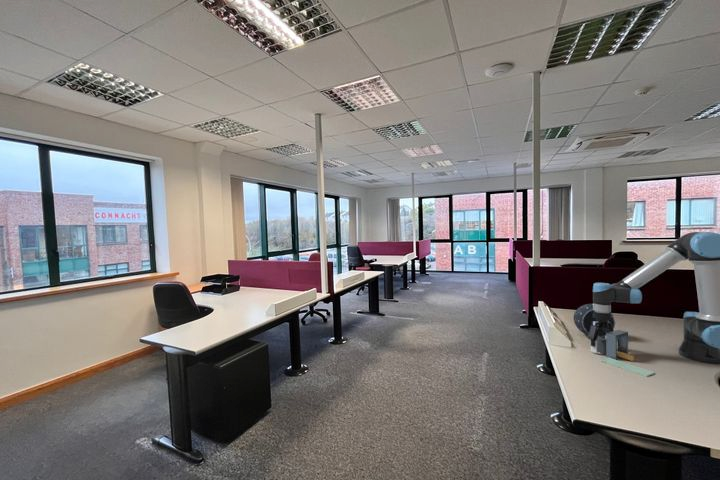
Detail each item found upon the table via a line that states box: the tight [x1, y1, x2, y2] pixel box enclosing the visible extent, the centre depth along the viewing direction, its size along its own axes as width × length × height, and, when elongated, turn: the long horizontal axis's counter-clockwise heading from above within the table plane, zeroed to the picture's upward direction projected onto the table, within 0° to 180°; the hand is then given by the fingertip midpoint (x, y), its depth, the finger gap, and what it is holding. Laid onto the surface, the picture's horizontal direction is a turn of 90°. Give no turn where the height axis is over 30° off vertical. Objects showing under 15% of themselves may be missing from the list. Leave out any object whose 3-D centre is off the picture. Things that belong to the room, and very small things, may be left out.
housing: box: [605, 329, 629, 360], centre depth 152 cm, size 12×4×13 cm, turn 113°
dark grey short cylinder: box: [573, 303, 616, 338], centre depth 181 cm, size 11×20×20 cm, turn 78°
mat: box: [599, 357, 656, 378], centre depth 140 cm, size 7×18×1 cm, turn 23°
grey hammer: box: [596, 337, 635, 362], centre depth 153 cm, size 5×16×7 cm, turn 24°
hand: (601, 350), depth 158 cm, fingers open, 13 cm apart
